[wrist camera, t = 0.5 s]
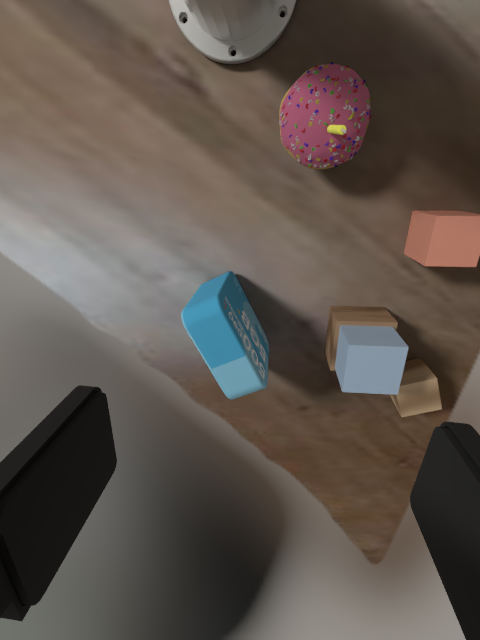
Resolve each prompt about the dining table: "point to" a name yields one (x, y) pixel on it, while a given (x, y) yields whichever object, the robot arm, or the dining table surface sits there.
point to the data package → (228, 335)
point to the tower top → (370, 359)
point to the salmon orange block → (444, 238)
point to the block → (417, 390)
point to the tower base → (355, 318)
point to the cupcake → (325, 116)
